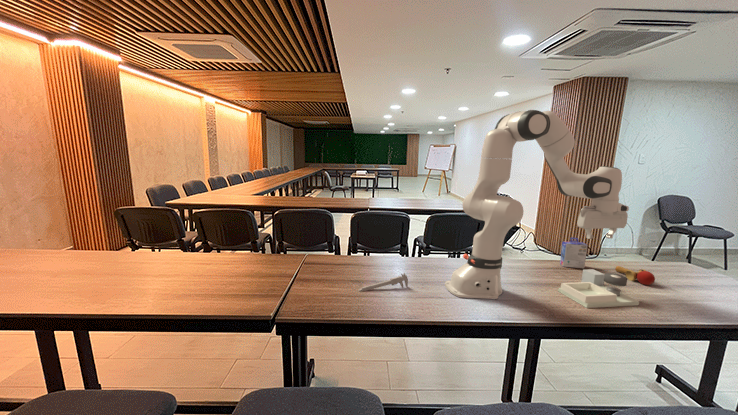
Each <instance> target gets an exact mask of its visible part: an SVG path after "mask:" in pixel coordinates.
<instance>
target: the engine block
mask: <svg viewBox="0 0 738 415" xmlns="http://www.w3.org/2000/svg"><path fill="white" fill-rule="evenodd" d="M604 275H605V273H603V272H600V271H598V270H595V269H593V268H592V269H591V268H589V269H582V275H581V281H580V282H591V283H593V284H595V285H597V286H605V285H604V284H605V281H604Z"/></svg>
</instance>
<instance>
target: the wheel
mask: <svg viewBox="0 0 738 415" xmlns="http://www.w3.org/2000/svg"><path fill="white" fill-rule="evenodd" d="M604 274H605V275H604V283H607V284H608V285H612V286H617V287H627V283H628V279H627V277H626V276H624V275H621V274H618V273H612V272H606V273H604Z"/></svg>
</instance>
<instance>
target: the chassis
mask: <svg viewBox="0 0 738 415" xmlns="http://www.w3.org/2000/svg"><path fill="white" fill-rule="evenodd" d="M621 291H622V290H621V288H618V287H615V286H607V285H604V286H597V285H595V284H593V283H591V282H581V281H578V282H561V283H560V287H558V290H557V292H558V293H561V294H562V295H564V296H566V297H567V298H569V299H570V300H573V301H574V302H576V303H577V304H580V305H581V306H583V307H585V309H590V308H591V309H593V308H613V307H614V308H615V307H631V306H639V305H640V300H637V299H635V298H633V297H631V296H628V294H627V295H626V294H624V293H622V292H621Z"/></svg>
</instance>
